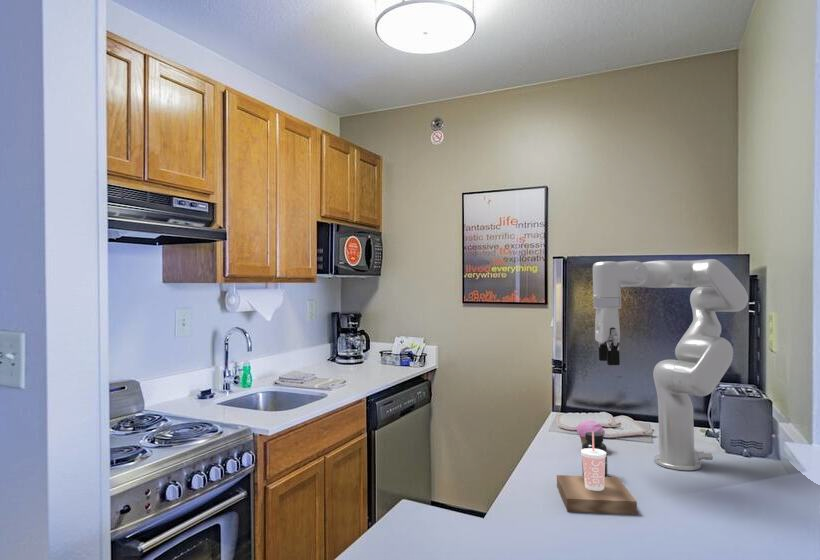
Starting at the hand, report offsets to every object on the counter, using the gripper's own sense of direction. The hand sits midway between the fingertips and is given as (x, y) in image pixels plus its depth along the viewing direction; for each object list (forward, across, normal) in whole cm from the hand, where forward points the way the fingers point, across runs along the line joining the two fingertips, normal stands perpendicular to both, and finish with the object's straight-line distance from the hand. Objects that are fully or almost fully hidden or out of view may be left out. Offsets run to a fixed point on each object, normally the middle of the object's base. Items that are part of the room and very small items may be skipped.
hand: (609, 362), depth 143 cm
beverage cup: (+30, +18, -9) cm, 36 cm away
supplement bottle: (+32, +1, -5) cm, 33 cm away
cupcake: (+32, -23, -1) cm, 40 cm away
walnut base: (+32, +18, -9) cm, 38 cm away
